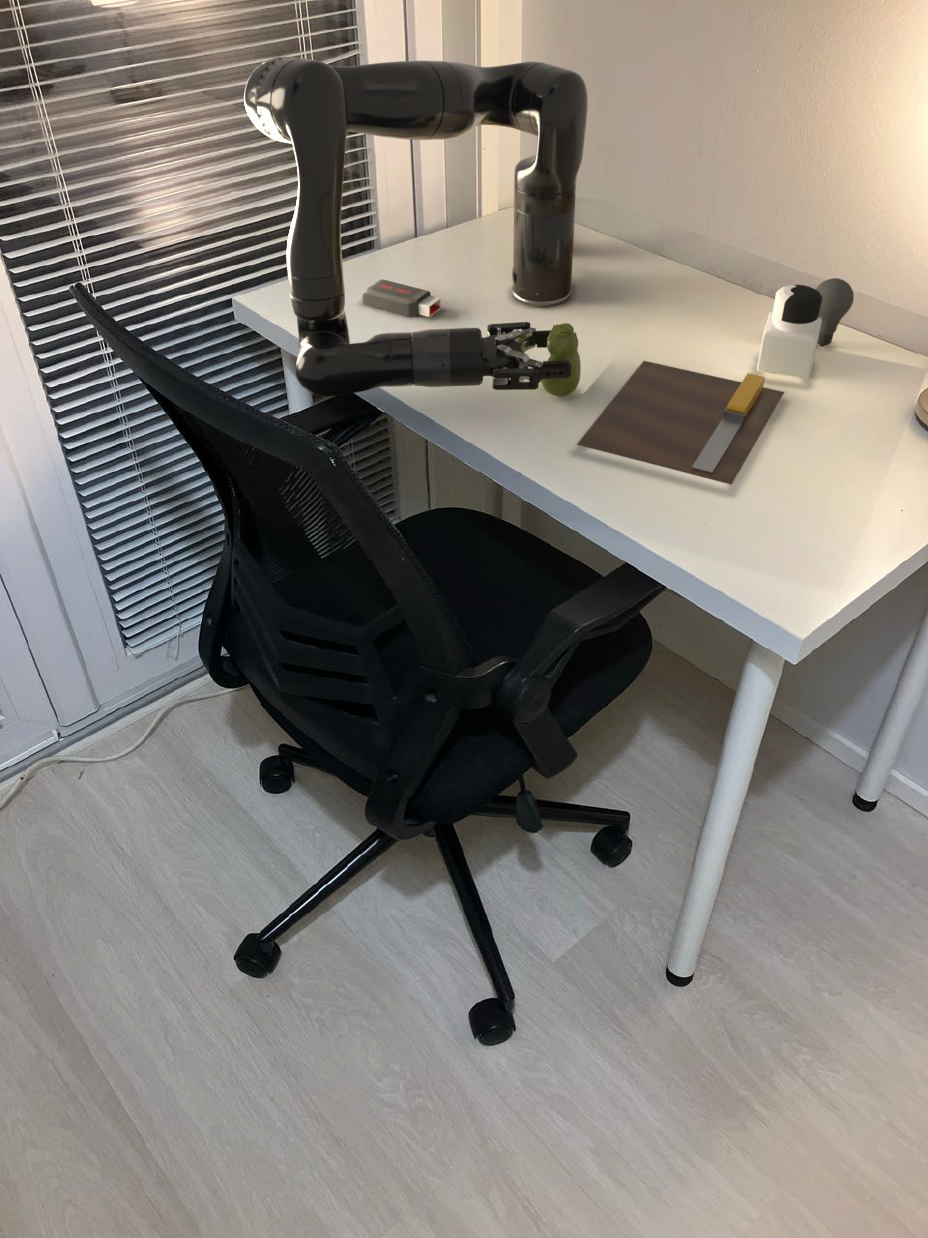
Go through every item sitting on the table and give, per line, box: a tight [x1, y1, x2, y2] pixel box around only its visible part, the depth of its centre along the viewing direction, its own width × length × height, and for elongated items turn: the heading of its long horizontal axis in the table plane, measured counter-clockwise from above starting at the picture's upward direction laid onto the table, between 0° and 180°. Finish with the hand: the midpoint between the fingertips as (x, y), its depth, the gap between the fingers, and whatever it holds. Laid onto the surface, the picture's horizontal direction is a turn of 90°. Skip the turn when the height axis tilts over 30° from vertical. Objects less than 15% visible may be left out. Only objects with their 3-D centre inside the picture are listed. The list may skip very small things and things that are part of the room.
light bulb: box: [815, 277, 855, 347], centre depth 150 cm, size 6×6×10 cm
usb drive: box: [362, 279, 442, 318], centre depth 165 cm, size 5×12×3 cm, turn 58°
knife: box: [692, 372, 766, 474], centre depth 134 cm, size 22×3×2 cm, turn 152°
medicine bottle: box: [756, 284, 822, 379], centre depth 144 cm, size 7×7×12 cm
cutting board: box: [576, 360, 785, 485], centre depth 137 cm, size 24×20×2 cm
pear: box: [540, 322, 582, 397], centre depth 141 cm, size 6×5×10 cm
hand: (567, 353), depth 141 cm, fingers open, 8 cm apart
